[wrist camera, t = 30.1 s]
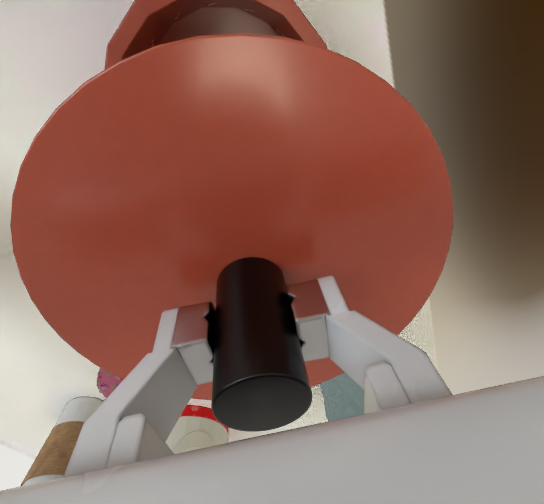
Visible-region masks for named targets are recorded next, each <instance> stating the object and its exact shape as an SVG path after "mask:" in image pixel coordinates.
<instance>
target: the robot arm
mask: <svg viewBox="0 0 544 504" xmlns="http://www.w3.org/2000/svg"><path fill="white" fill-rule="evenodd" d="M286 288H287V294H288V298H289V303H290V307H291V310H292V314H293V319H294V324H295V328H296V332H297V336H298V338H299V341H300V345H301V349H302V354H303V358H304V362H306V361H312V360H317V359H323V358H328V357H330V359H331V360H332V361H333V362H334V363H335V364H337V365H338V366H339V367H340V368H341V369H342V370H343V371H344V372H345V373H346V374H347V375H348V376H350V377H351V378H352V379H353V380H354V381H355V382H356V383H357V384H358V385H359V386H360V387H362V388H363V389H364V390H365V395H364V414H362V415H357V416H352V417H348V418H343V419H338V420H333V421H329V422H324V423H319V424H314V425H310V426H305V427H300V428H296V429H291V430H286V431H281V432H277V433H272V434H267V435H263V436H258V437H253V438H248V439H244V440H239V441H234V442H230V443H225V444H220V445H215V446H211V447H206V448H201V449H197V450H192V451H187V452H182V453H178V454H174V453H173V452H172V450H171V449H170V448H169V446H168V445H167V444H166V443H165V442H166V440H167V438H168V436H169V435H170V433H171V431H172V430H173V428H174V426H175V424H176V423H177V421H178V419H179V417H180V416H181V414H182V412H183V410H184V409H185V407H186V405H187V403H188V402H189V400H190V398H191V397H192V395H193V393H194V391H195V390H196V388H197V386H196V385H200V384H204V383H208V382H212V381H213V358H214V334H215V311H216V310H215V307H214V305H213V303H212V302H211V301H210V302H205V303H199V304H194V305H188V306H183V307H180V308H174V309H169V310H164V312H163V313H162V315H161V319H160V323H159V327H158V331H157V335H156V339H155V343H154V347H153V351H152V353H148V354H147V355H146V356H145V357H144V358H143V359H142V360H141V361H140V362H139V363H138V364H137V366H136V367H135V368H134V369H133V370H132V371H131V372H130V373H129V374H128V375H127V377H126V378H125V379H124V380H123V381H122V382H121V383H120V384H119V385H118V386H117V387H116V389H115V390H114V391H113V392H112V393H111V394H110V395H109V396H108V397H107V398H106V400H105V401H104V402H103V403H102V404H101V405H100V406H99V407H98V408H97V409H96V411H95V412H94V413H93V414H92V415H91V416H90V417H89V418H88V419H87V420H86V421H85V423H84V424H83V426H82V429H81V432H80V434H79V437H78V440H77V442H76V445H75V448H74V450H73V453H72V455H71V458H70V461H69V463H68V466H67V469H66V471H65V474H64V477H63V478H59V479H55V480H50V481H45V482H40V483H36V484H31V485H26V486H21V487H17V488H12V489H7V490H3V491H0V504H544V376H541V377H537V378H532V379H527V380H523V381H518V382H513V383H508V384H504V385H499V386H494V387H489V388H485V389H480V390H475V391H470V392H466V393H461V394H456V395H452V393H451V392H450V390H449V388H448V387H447V385H446V384H445V382H444V381H443V379H442V377H441V376H440V374H439V373H438V371H437V370H436V368H435V366H434V365H433V363H432V362H431V360H430V359H429V357H428V356H427V354H426V352H424V351H423V350H421V349H419V348H418V347H416V346H414V345H412V344H411V343H409V342H407V341H406V340H404V339H402V338H401V337H399V336H397V335H396V334H394V333H392V332H391V331H389V330H387V329H385V328H384V327H382V326H380V325H379V324H377V323H375V322H374V321H372V320H370V319H369V318H367V317H365V316H364V315H362V314H360V313H358V312H357V311H355V310H352V311H349V309H348V306H347V304H346V302H345V300H344V298H343V296H342V293H341V291H340V289H339V287H338V285H337V283H336V280H335V278H334V277H333V276H332V275H330V276H326V277H321V278H317V279H314V280H309V281H305V282H300V283H295V284H291V285H286Z"/></svg>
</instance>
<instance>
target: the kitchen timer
mask: <svg viewBox="0 0 544 504" xmlns="http://www.w3.org/2000/svg"><path fill="white" fill-rule="evenodd" d="M227 442H228V427H227V426H225V425H223V424H221V423H220V422H219V421H218V420H217V419H216V418H215V416H214V415H213V412H212V409H210V408H206V407H202V406H190V405H188V406H186V407H185V409H184V410H183V412H182V414H181V416H180V417H179V419H178V421H177V423H176V424H175V426H174V428H173V430H172V431H171V433H170V435H169V436H168V438H167V440H166V442H165V443H166V444H167V445H168V446H169V448H170V449H171V450H172V452H173V453H174V454H178V453H182V452H187V451H192V450H197V449H201V448H206V447H211V446H215V445H220V444H225V443H227Z"/></svg>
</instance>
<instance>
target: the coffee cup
mask: <svg viewBox="0 0 544 504" xmlns="http://www.w3.org/2000/svg"><path fill="white" fill-rule="evenodd" d="M103 402H104V401H102V400H100V399H97V398H92V397H79V398H75V399H72V400H70V401H69V402H68V403H67V404H66V406H65V408H64V410H63V412H62V413H61V415H60V417H59V419H58V421H57V423H56V425H55V426H54V428H53V429H52V431H51V433H50V435H49V436H48V438H47V440H46V442H45V443H44V445H43V447H42V449H41V450H40V452H39V454H38V456H37V457H36V459H35V461H34V463H33V465H32V466H31V468H30V470H29V472H28V474H27V475H26V477H25V479H24V480H23V482H22V484H21V486H26V485H31V484H36V483H40V482H45V481H50V480H55V479H59V478H63V477H64V474H65V471H66V469H67V466H68V463H69V461H70V458H71V455H72V453H73V450H74V448H75V445H76V442H77V440H78V437H79V434H80V432H81V429H82V426H83V424H84V423H85V421H86V420H87V419H88V418H89V417H90V416H91V415H92V414H93V413H94V412H95V411H96V409H97V408H98V407H99V406H100V405H101V404H102V403H103ZM21 486H20V487H21Z"/></svg>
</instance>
